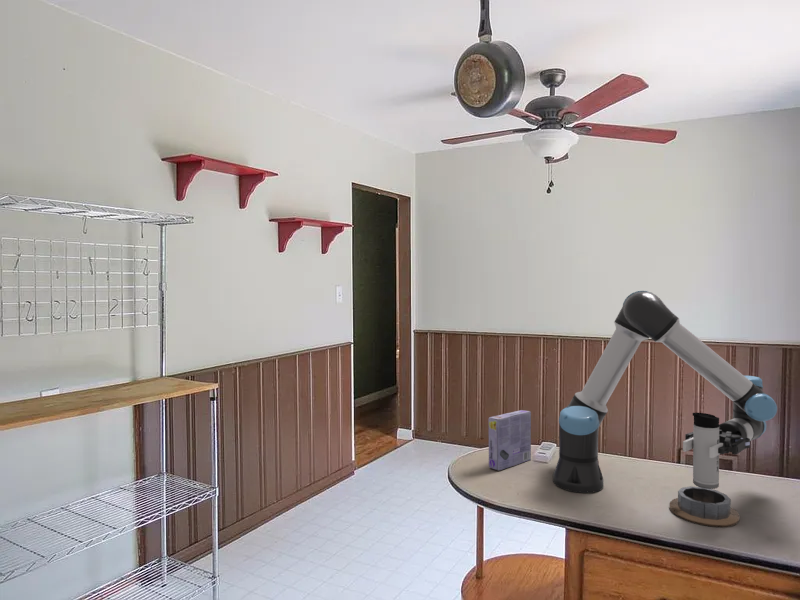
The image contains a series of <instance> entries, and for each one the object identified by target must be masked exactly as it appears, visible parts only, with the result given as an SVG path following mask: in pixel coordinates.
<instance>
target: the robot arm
mask: <svg viewBox="0 0 800 600" xmlns="http://www.w3.org/2000/svg"><path fill="white" fill-rule="evenodd" d="M613 323H614V326H615V330H614V332H613V334H612V335H611V337H610V339H609V341H608V342H607V344H606V347H605V348H604V349H603V352H602V354H601V355H600V357H599V359H598V361H597V363H596V365H595V367H594V368H593V370H592V372H591V373H590V375H589V377H588V379H587V381H586V383H585V384H584V387H583V388H582V390H581V391H577V392H575V393H574V395H573V397H572V398H571V400H570V402H569V404H568V405H567V406H566V407H564V408H563V409H561V411H560V412H559V417H558V423H559V430H558V431H559V437H558V438H559V439H558V440H559V448H558V450H559V451H558V461H557V463H556V465H555V470H554V472H553V475H552V477H553V479H552V483H553V484H554V485H555V486H557V487H558V488H560V489H561V490H565V491H569V492H574V493H581V494H582V493H583V494H586V493H589V494H590V493H596V492H600V491H601V490H603V488H604V477H603V474H602V471H601V467H600V463H599V464H598V461H599V429H600V426H601V424H602V422H603V420H604V419H605V416H606V415H607V413H608V411H609V409H608V406H607V404H608V401H609V400H610V398H611V397H612V394H613V393H614V391H615V389H616V388H617V386H618V384H619V382H620V380H621V378H622V377H623V375H624V373H625V371H626V369H627V368H628V366H629V364H630V363H631V361H632V359H633V357H634V355H636V352H637V350H638V348H639V346H640V344H641V343H642V342H643V341H647V340H649V339H651V340H652V341H653V342H655V343H662V345H664V346H665V347H666V348H668V349H669V350H670V351H671V352H672V353H674V354H675V355H676V356H677V357H678V358H679V359H681V360H682V361H683V362H684V363H686V364H687V365H688V366H689V367H690V368H692V369H693V370H694V371H696V372H697V374H699V375H700V376H701V377H703V378H704V379H705V380H706V381H708V382H709V383H710V384H711V385H712V386H714V387H715V388H716V389H717V390H718V391H719V392H720V393H722V394H723V395H724V396H726V397H727V398H728V399H729V400H731V401H732V402H733V403H732V418H731V419H729V420H726V421H725V422H721V423H719V444H716V445H714V446H712V447H710V450H709V458H714V457H716V456H718V455H719V456H720V455H724V454H729V453H731V454H732V455H735V456H736V455H739V453H742V451H744V450H746V449H750V448H751V441H754V440H756V439H758V438H760V437H761V436H762V435H764V434H765V432H766V431H767V421H770V420H771V419H773V418H775V416H776V415H777V412H778V406H777V405H778V404H777V403H776V401H775V400H774V398H773V397H772V396H770V395H769V394H767V393H766V392H765V391H763V389H764V386H763V379H762V378H761V377H759V376H753V375H744V374H743V373H741V372H740V371H739V370H738V369H736V368H735V367H734V366H733V365H731V364H730V363H729V362H728V361H727V360H725V359H724V358H723V357H722V356H720V355H719V354H718V353H717V352H715V351H714V350H713V349H712V348H710V346H709V345H707V344H706V343H704V342H703V340H701V339H699V338H698V337H697V336H696V335H695V334H693V333H692V332H691V331H689V330H688V329H687V328H686V327H685V326H683V325H682V324H681V322H680V318H679V317H678V316H677V315H675V313H673V312H672V311H671V310H670V309H669V308H668V307H667V305H666V304H665V303H664V302H663V301H662V299H661V298H660V297H658V296H657V294H654V293H653V292H650V291H648V290H637V291H635V292H632V293H630V294H629V295H628V296H626V298H625V299H624V301H623V303H622V307H621V309H620V311H619V312H618V314H617V316H616V318H615V320H614V321H613ZM684 438H685V440H683V441H682V452H685V453H686V452H688V451H691V450H693V431H690V432H687V433H685V435H684Z"/></svg>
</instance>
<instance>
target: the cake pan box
mask: <svg viewBox="0 0 800 600" xmlns="http://www.w3.org/2000/svg"><path fill="white" fill-rule="evenodd" d="M531 415H532V412H531V410H523V409H520V410H515V411H512V412H507V413H502V414H498V415H493V416H490V417H489V416H488V468H490V469H493V470H494V471H497V472H499V471H502V470H505V469H507V468H512V467H516V466H519V464H523V463H526V462H528V461H531V460H532V458H531V457H532V456H531V455H532V454H531V453H532V451H531V450H532V435H531V434H532V431H531V430H532V426H531V425H532V423H531V422H532V418H531V417H532V416H531Z"/></svg>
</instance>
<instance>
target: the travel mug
mask: <svg viewBox="0 0 800 600" xmlns="http://www.w3.org/2000/svg"><path fill="white" fill-rule="evenodd" d="M692 416H693V430H692V432H693V449H692V452H693V453H692V454H693V455H692V483H693V485H694V486H695V487H701V488H706V489H713V490H716V489H718V488H719V487H720V482H719V480H720V455H718V456H716V457H714V458H709V450H710V447H712V446H714V445H716V444H719V425H720V417H717V416H716V415H713V414H710V413H705V412H692Z"/></svg>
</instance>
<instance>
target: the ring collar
mask: <svg viewBox="0 0 800 600" xmlns="http://www.w3.org/2000/svg"><path fill="white" fill-rule="evenodd" d="M731 503H732V500H731V498H730V497H729V496H728V495H727V494H726V493H723V492H721V491H719V490H717V489H706V488H701V487H698V486H692V485H691V486H684V487H681V488H680V489H679V490H678V491H677V497H676V498H673V499H671V501H670V502H669V507H668V508H669V510H670V512H671V513H672V514H673V515H675V516H676V517H677V518H679V519H682V520H684V521H686V522H689V523H692V524H696V525H700V526H704V527H709V528H710V527H712V528H727V527H734V526H737V525H738V524H739V522H740V513H739V512H738V510H736V509H734V507H732V506H731Z"/></svg>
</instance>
